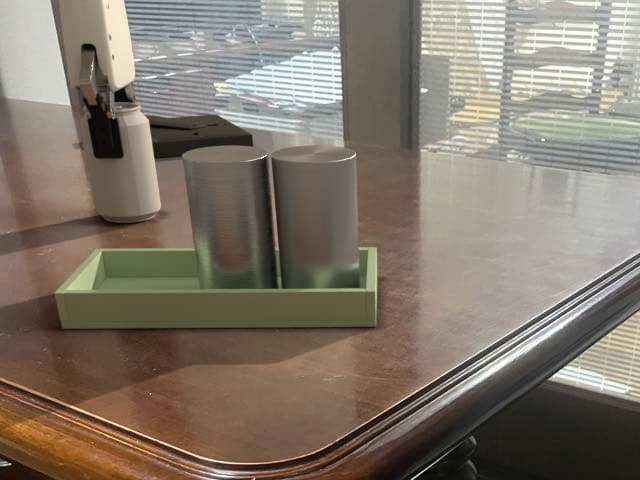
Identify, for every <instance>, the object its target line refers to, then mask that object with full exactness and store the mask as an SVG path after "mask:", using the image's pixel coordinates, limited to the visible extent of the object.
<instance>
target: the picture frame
mask: <svg viewBox="0 0 640 480" xmlns="http://www.w3.org/2000/svg"><path fill="white" fill-rule="evenodd" d="M144 116H145V117H146V118H147V119H148V120H149V126H150V133H151V140H152V147H153V153H154V159H159V158H169V157H170V158H171V157H180V156H181V157H182V155H183V154H184V153H185V152H188V151H190V150H194V149H198V148H204V147H212V146H250V147H254V139H253V134H252V133H250V132H248V131H246V130H244V129H243V128H241V127H240V126H237V125H236V124H234V123H232V122H230V121H229V120H227V119H225V118H223V117H222V116H220V115H218V114H207V115H204V114H203V115H194V116H193V115H192V116H179V117H164V116H159V115H144Z"/></svg>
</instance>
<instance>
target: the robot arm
mask: <svg viewBox="0 0 640 480" xmlns="http://www.w3.org/2000/svg"><path fill="white" fill-rule="evenodd" d="M58 6H59V16H60V25H61V32H62V33H61V34H62V38H63V39H62V40H63V46H64V54H65V60H66V67H67V73H68V79H69V84H70V87H71V88H72V89H73V90H74V91H75V92H79V93H80V92H81V93H82V95H83V96H82V102H83V103H84V106H85V111H84V113H85V112H86V117H87V120H88V126H89V131H90V137H91V143H92V148H93V154H94V157H95V158H97V159H121V158H123V157H124V150H123V143H122V137H121V131H120V125H119V119H118V118H115V110H114V102H125V103H135V104H137V100H136V99H137V98H136V95H135V92H134V89H133V87H134V81H135V78H136V69H135V68H136V66H135V58H134V50H133V45H132V37H131V31H130V26H129V21H128V15H127V9H126V2H125V0H58Z"/></svg>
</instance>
